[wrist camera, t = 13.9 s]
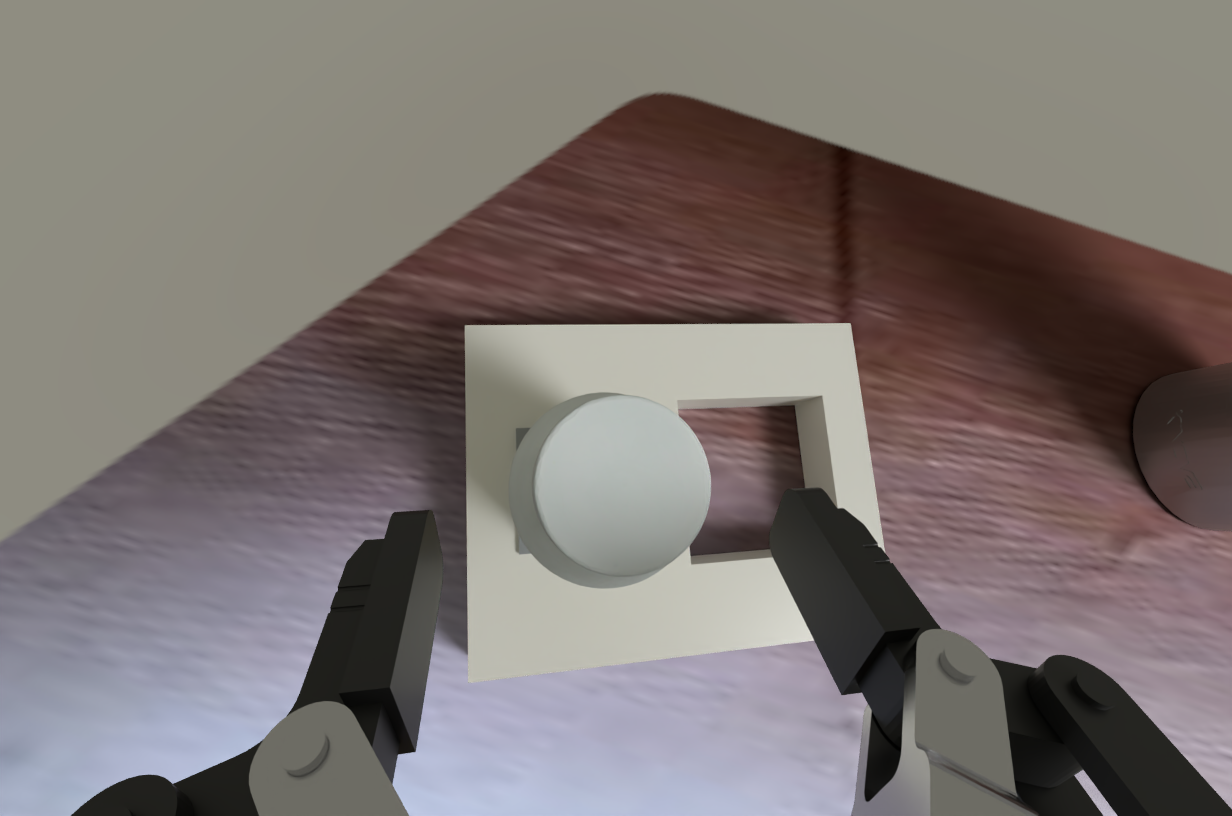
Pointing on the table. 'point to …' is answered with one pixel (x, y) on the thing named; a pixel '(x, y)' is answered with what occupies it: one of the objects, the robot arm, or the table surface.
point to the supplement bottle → (608, 489)
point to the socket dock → (690, 585)
